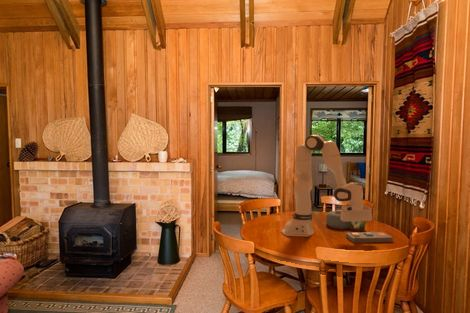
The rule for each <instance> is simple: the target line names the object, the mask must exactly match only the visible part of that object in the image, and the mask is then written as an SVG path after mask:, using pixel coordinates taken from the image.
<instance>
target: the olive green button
mask: <svg viewBox="0 0 470 313" xmlns="http://www.w3.org/2000/svg"><path fill="white" fill-rule="evenodd" d="M363 232H364V235H366V236H373V234H372V233H370V232H371V231H370V232H369V231H368V232H367V231H363Z"/></svg>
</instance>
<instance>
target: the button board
mask: <svg viewBox="0 0 470 313" xmlns="http://www.w3.org/2000/svg"><path fill="white" fill-rule="evenodd" d="M364 232H365V231H355V233H358V234H360V236H352V235H351V233H352V232H345V238H347V240H349V241H350V242H352V243H353V244H364V243H366V244H367V243H368V244H369V243H393V242H394V241H393V240H394V238H393V236H391V235H389V234H387V233H386V232H384V231H370V233H372V234H373V236H366V235H364ZM381 233H383V234H385V235H386V236H380V235H378V234H381Z"/></svg>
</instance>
